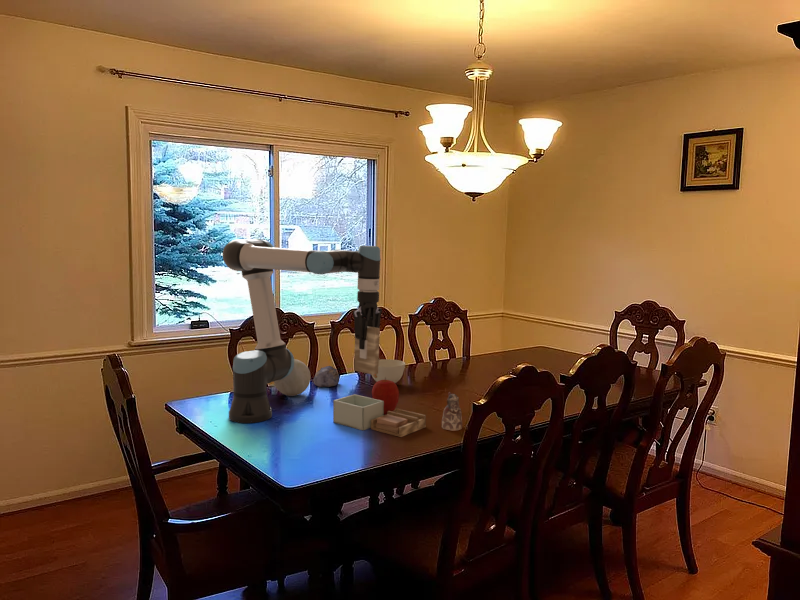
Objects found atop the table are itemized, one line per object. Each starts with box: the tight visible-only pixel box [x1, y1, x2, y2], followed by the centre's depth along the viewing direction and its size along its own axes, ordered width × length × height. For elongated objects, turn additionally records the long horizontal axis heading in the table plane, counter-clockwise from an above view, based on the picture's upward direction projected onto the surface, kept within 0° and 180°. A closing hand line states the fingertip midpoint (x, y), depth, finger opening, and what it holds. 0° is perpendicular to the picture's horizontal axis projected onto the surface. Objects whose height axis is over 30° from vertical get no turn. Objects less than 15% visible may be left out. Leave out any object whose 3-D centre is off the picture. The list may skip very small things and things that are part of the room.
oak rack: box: [370, 407, 427, 438], centre depth 214 cm, size 14×13×4 cm
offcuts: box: [376, 414, 409, 433], centre depth 212 cm, size 7×10×3 cm
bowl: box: [370, 358, 406, 384], centre depth 274 cm, size 16×16×10 cm
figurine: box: [441, 391, 463, 432], centre depth 215 cm, size 7×7×12 cm
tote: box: [332, 393, 384, 431], centre depth 219 cm, size 11×14×8 cm
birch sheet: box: [353, 326, 381, 376], centre depth 217 cm, size 2×9×16 cm, turn 52°
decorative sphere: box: [273, 358, 311, 397], centre depth 255 cm, size 15×15×15 cm
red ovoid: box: [371, 377, 400, 415], centre depth 231 cm, size 10×10×14 cm
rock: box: [312, 365, 340, 388], centre depth 273 cm, size 11×10×10 cm
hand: (366, 357), depth 217 cm, fingers closed on birch sheet, 2 cm apart
